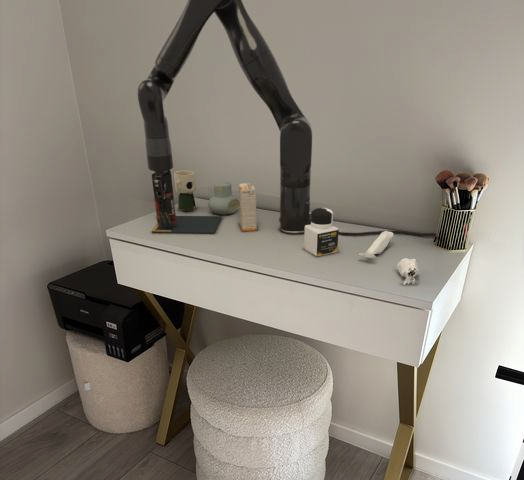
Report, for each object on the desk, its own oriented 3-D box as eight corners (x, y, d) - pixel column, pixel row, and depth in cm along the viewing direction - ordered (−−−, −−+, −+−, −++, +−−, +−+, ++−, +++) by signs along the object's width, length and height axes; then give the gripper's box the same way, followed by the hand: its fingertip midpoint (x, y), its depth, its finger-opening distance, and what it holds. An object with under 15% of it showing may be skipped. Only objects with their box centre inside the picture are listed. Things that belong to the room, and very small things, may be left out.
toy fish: (396, 244, 157) (397, 231, 155) (375, 265, 144) (376, 251, 142) (378, 241, 160) (379, 228, 158) (356, 262, 146) (357, 248, 144)
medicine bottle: (316, 257, 150) (318, 215, 143) (303, 249, 155) (304, 208, 149) (337, 252, 153) (340, 211, 146) (324, 244, 158) (326, 204, 152)
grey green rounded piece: (224, 218, 180) (222, 188, 175) (205, 214, 184) (203, 185, 179) (242, 210, 188) (241, 181, 183) (224, 206, 192) (222, 178, 186)
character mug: (188, 215, 183) (184, 177, 177) (170, 213, 186) (166, 175, 179) (203, 206, 192) (201, 169, 185) (186, 204, 194) (183, 168, 188)
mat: (221, 217, 181) (221, 215, 180) (214, 234, 167) (214, 231, 167) (164, 217, 182) (163, 215, 182) (152, 233, 169) (151, 231, 168)
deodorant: (174, 225, 168) (169, 176, 160) (155, 225, 168) (149, 176, 160) (177, 219, 173) (172, 171, 165) (159, 219, 173) (153, 172, 165)
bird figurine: (423, 288, 134) (413, 264, 141) (423, 267, 130) (413, 243, 137) (403, 291, 135) (394, 267, 142) (403, 271, 130) (394, 247, 137)
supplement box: (257, 230, 169) (256, 189, 162) (242, 231, 169) (240, 190, 162) (254, 222, 176) (253, 182, 169) (239, 223, 176) (238, 183, 169)
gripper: (165, 157, 153) (171, 215, 162) (176, 147, 165) (181, 201, 174) (140, 157, 154) (147, 215, 162) (152, 147, 166) (159, 201, 175)
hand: (165, 207), depth 168 cm, fingers closed on deodorant, 6 cm apart
